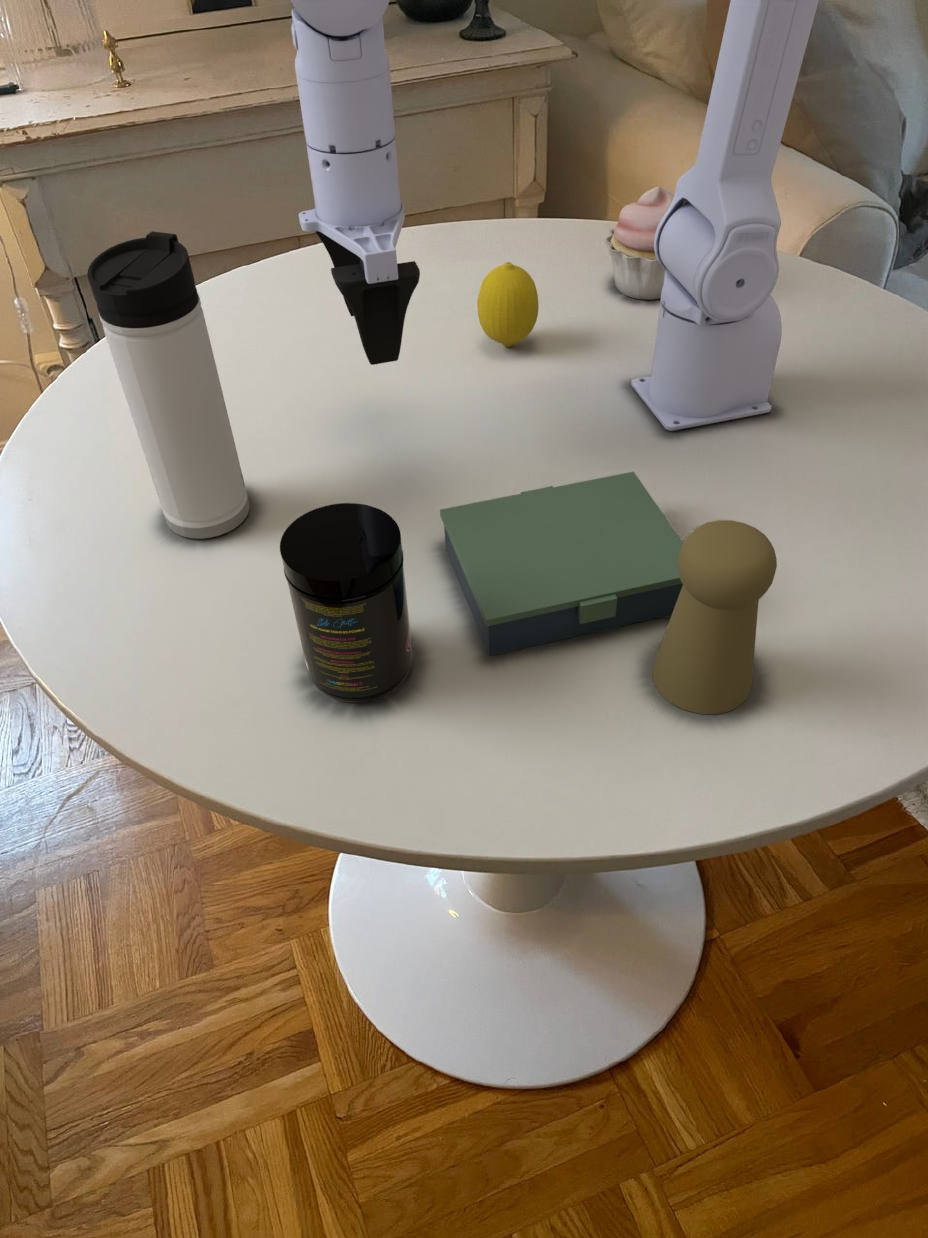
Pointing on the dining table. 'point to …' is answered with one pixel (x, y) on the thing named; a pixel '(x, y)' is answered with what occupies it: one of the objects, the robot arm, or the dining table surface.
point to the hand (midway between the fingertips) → (373, 335)
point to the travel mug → (171, 382)
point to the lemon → (507, 304)
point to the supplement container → (349, 599)
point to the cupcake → (639, 246)
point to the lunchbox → (563, 561)
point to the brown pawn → (715, 618)
